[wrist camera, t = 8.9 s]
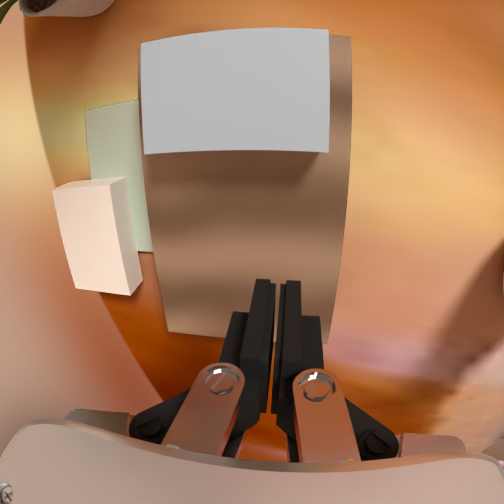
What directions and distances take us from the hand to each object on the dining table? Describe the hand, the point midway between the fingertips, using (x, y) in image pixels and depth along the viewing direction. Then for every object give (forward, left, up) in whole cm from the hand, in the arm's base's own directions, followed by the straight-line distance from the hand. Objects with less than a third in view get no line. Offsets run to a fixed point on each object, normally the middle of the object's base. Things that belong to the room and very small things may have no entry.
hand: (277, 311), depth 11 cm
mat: (-3, -12, -11) cm, 17 cm away
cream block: (+1, -15, -8) cm, 17 cm away
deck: (-2, -2, -11) cm, 12 cm away
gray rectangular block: (-8, -2, -7) cm, 11 cm away
